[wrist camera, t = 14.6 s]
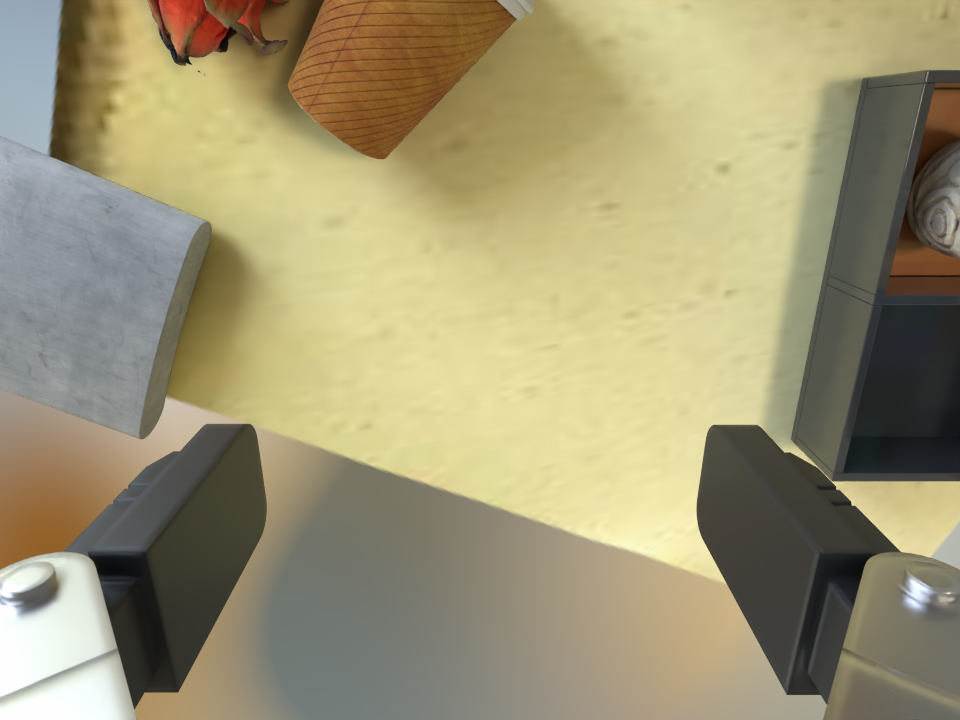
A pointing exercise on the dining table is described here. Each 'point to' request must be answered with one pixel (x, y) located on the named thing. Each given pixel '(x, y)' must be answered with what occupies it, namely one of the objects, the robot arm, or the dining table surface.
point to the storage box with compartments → (887, 302)
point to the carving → (937, 202)
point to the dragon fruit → (209, 26)
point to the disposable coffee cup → (391, 63)
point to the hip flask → (91, 290)
